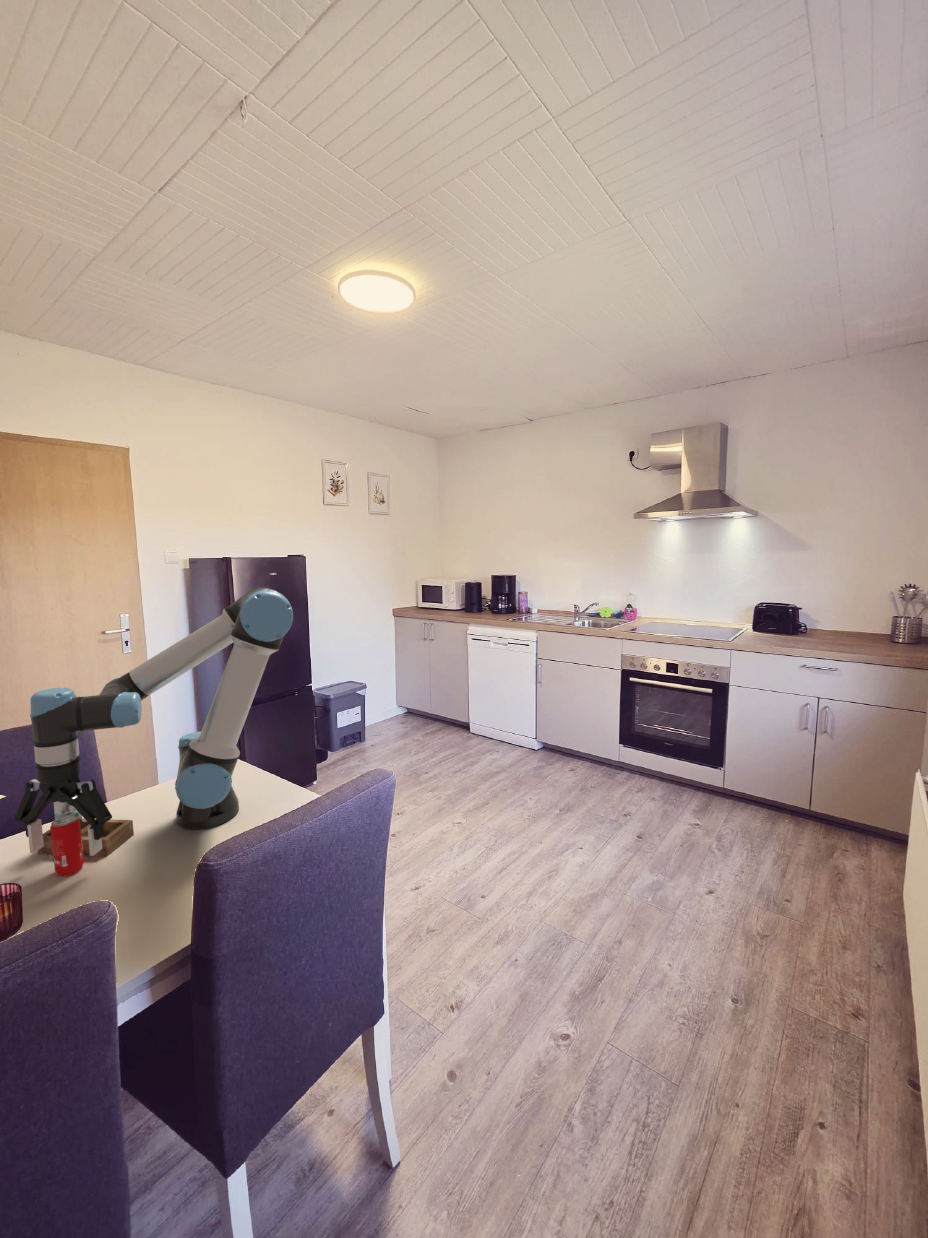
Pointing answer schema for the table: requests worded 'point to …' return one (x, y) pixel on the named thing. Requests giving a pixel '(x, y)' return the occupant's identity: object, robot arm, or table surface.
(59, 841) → the beverage can
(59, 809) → the transparent cylindrical container
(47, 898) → the table surface
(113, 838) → the holder
